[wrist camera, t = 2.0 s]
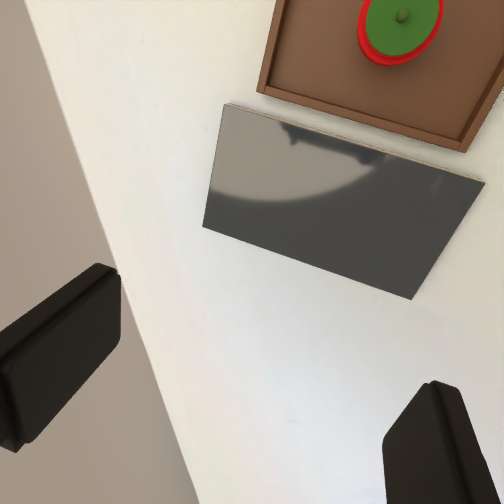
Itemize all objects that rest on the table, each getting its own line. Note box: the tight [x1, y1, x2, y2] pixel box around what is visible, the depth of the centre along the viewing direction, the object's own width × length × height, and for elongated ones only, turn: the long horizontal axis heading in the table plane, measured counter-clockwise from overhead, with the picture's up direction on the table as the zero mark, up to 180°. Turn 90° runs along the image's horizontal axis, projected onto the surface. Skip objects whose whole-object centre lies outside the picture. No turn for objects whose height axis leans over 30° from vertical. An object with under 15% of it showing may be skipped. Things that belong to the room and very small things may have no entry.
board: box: [202, 103, 485, 300], centre depth 28 cm, size 20×11×1 cm, turn 76°
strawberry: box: [357, 0, 444, 66], centre depth 19 cm, size 4×4×7 cm
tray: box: [256, 0, 504, 153], centre depth 21 cm, size 15×11×2 cm
